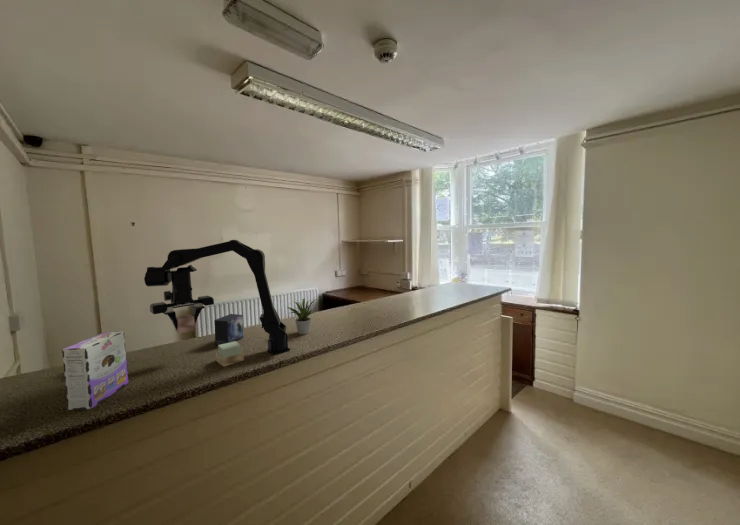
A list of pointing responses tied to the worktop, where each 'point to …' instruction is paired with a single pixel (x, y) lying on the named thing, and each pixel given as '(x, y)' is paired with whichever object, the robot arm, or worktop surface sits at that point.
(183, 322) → the rose cube
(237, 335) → the small box
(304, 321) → the house plant
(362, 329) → the worktop surface
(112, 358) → the candy box
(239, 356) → the beech base block
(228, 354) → the sage top block
